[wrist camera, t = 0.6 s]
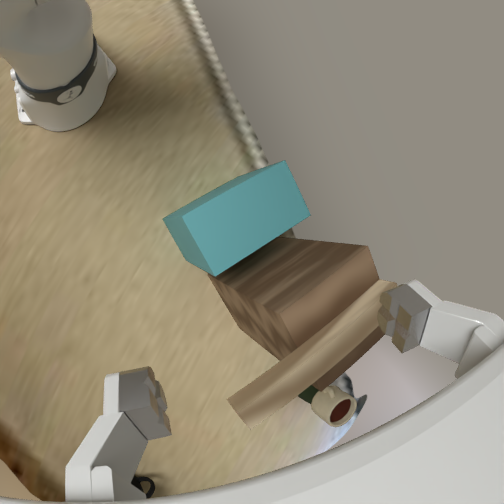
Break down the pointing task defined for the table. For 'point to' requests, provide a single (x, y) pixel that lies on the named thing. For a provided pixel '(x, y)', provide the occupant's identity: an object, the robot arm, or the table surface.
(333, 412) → the character mug
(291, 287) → the pillar
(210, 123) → the table surface
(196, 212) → the teal rectangular block
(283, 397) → the baton
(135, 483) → the mug
